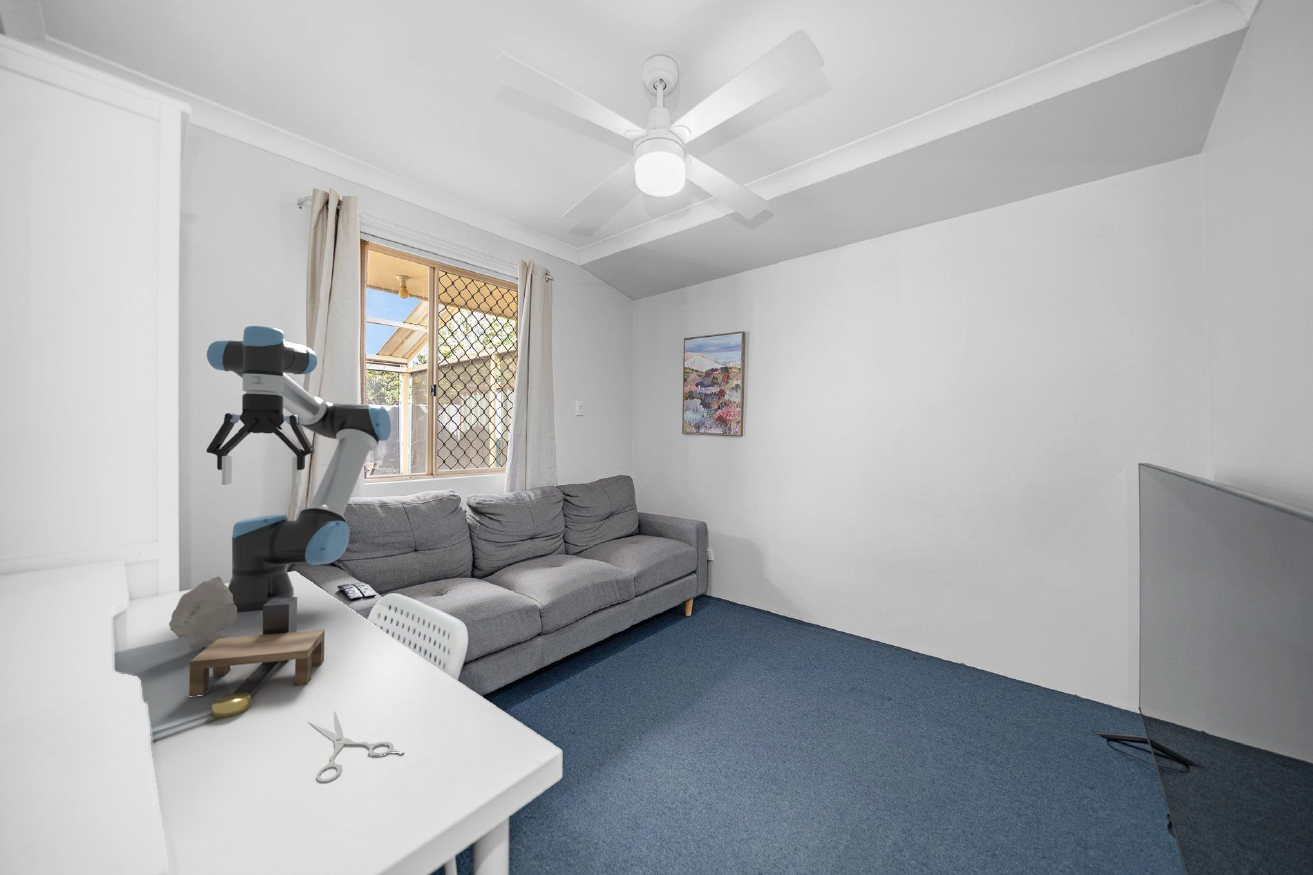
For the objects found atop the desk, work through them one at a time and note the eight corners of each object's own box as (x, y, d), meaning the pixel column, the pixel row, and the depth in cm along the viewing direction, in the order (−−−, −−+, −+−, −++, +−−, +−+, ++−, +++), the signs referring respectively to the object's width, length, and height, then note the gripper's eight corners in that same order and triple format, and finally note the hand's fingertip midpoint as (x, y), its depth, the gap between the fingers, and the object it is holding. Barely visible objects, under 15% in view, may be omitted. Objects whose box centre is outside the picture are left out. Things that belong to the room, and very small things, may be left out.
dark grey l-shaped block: (271, 654, 106) (272, 598, 106) (296, 652, 107) (297, 596, 107) (223, 704, 87) (224, 636, 87) (254, 700, 88) (255, 633, 88)
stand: (218, 671, 98) (218, 638, 98) (324, 660, 104) (324, 629, 104) (189, 697, 89) (189, 661, 89) (307, 684, 94) (307, 650, 94)
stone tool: (168, 658, 103) (169, 586, 103) (169, 652, 106) (170, 581, 105) (237, 643, 110) (238, 576, 110) (236, 638, 113) (237, 572, 113)
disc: (221, 705, 87) (221, 694, 87) (255, 701, 89) (255, 690, 88) (205, 722, 82) (205, 710, 82) (242, 717, 84) (242, 705, 84)
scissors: (324, 789, 68) (282, 727, 80) (324, 795, 68) (282, 732, 80) (405, 751, 76) (355, 701, 88) (405, 756, 76) (355, 705, 88)
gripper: (187, 389, 109) (186, 486, 110) (320, 395, 117) (318, 485, 118) (205, 391, 116) (204, 482, 117) (329, 396, 124) (328, 481, 125)
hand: (262, 484), depth 117 cm, fingers open, 13 cm apart
